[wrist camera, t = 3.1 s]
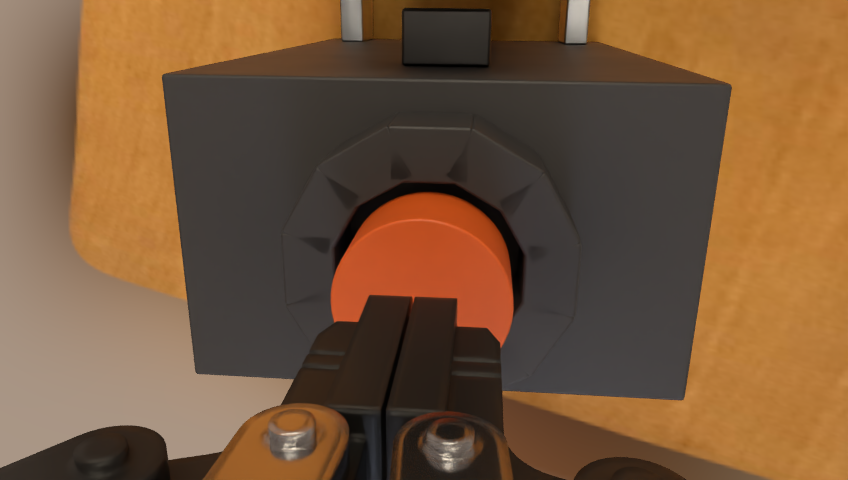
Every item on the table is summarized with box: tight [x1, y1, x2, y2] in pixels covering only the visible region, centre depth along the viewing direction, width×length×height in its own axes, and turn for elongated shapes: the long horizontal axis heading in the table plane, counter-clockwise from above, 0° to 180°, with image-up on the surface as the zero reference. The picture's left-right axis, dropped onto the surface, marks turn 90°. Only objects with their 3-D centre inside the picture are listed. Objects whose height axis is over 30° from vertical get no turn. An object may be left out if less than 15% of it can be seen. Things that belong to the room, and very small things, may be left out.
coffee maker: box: [162, 39, 732, 400], centre depth 25 cm, size 8×13×21 cm, turn 89°
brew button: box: [331, 192, 514, 347], centre depth 14 cm, size 4×4×2 cm
